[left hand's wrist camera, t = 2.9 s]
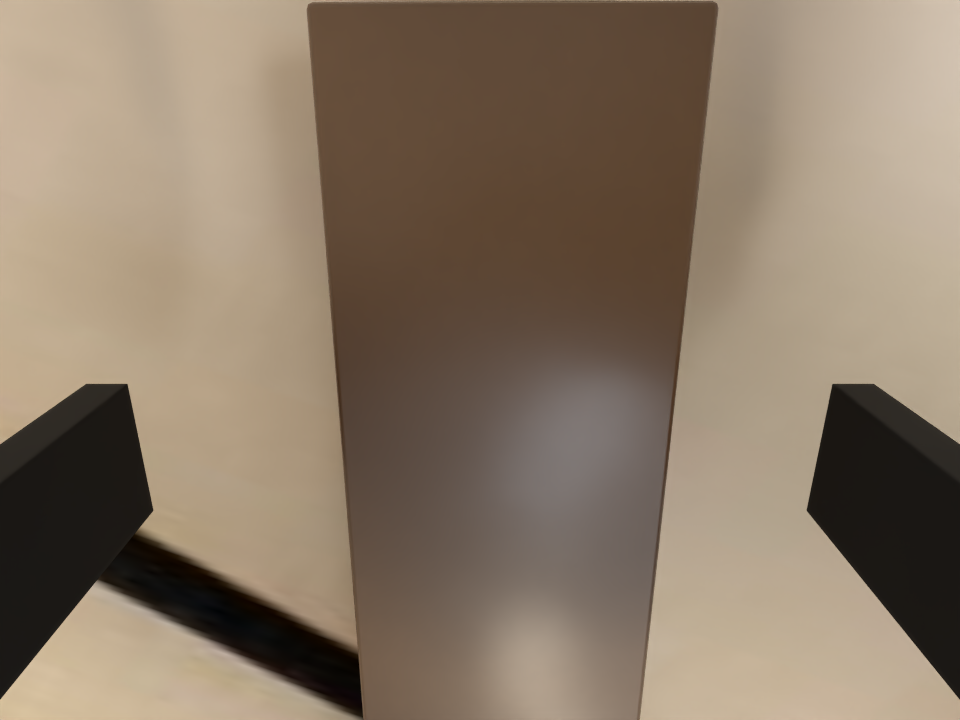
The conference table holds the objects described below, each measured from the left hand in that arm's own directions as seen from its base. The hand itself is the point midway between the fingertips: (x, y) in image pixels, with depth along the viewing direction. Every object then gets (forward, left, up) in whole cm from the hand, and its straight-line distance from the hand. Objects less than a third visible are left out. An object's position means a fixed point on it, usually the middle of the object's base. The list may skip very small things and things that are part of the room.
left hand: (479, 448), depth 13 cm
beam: (+10, +31, -5) cm, 33 cm away
